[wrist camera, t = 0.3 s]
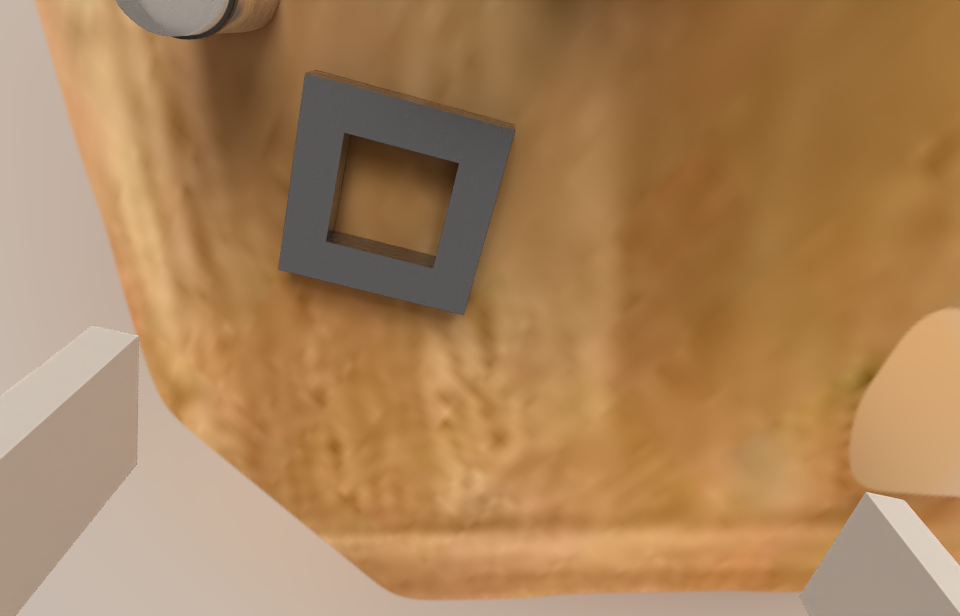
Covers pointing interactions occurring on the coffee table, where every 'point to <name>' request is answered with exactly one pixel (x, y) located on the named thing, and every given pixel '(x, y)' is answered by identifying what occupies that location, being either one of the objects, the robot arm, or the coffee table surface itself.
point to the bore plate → (406, 124)
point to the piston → (199, 16)
